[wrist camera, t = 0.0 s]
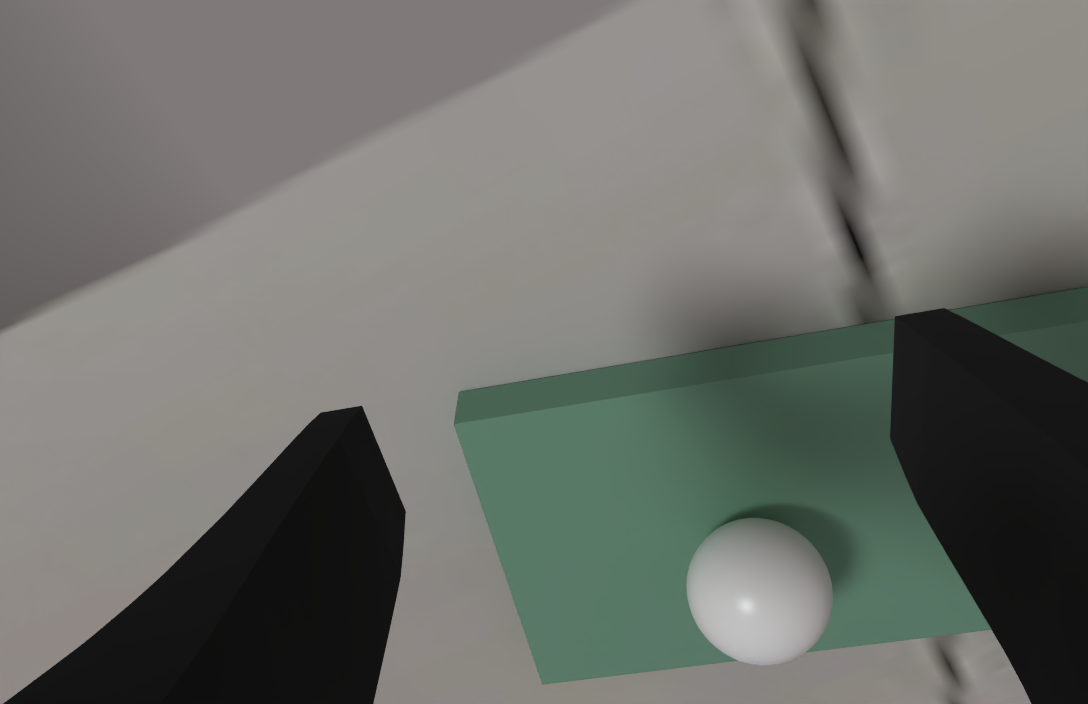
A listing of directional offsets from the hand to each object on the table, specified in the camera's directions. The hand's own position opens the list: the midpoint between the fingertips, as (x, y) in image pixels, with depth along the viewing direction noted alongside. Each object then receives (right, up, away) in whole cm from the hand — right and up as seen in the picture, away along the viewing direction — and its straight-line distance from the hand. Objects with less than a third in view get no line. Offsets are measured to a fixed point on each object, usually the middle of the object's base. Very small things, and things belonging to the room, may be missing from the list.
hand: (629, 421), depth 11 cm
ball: (+5, -6, +12) cm, 14 cm away
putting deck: (+11, -3, +14) cm, 18 cm away
